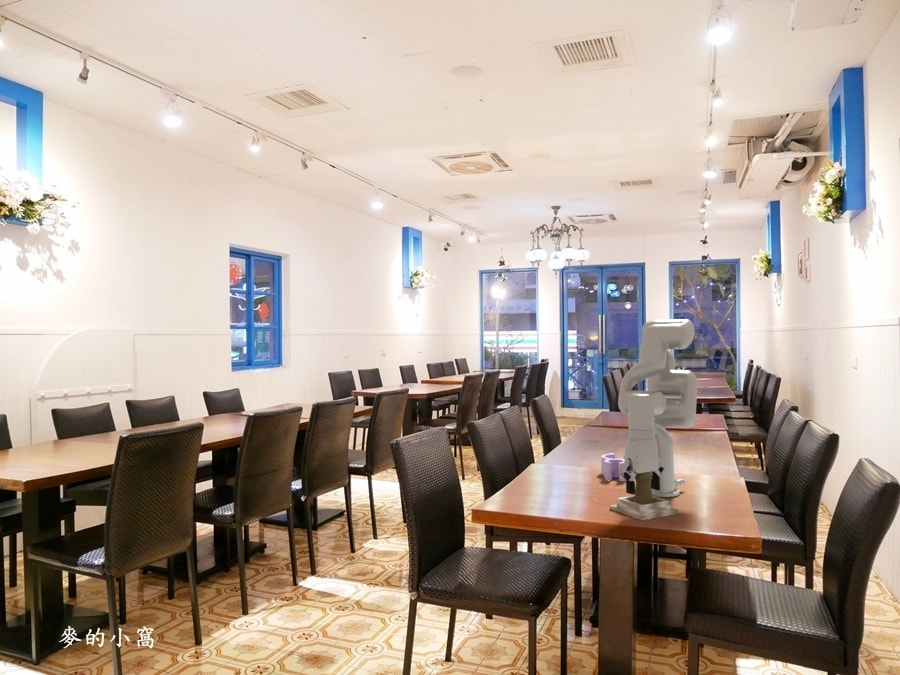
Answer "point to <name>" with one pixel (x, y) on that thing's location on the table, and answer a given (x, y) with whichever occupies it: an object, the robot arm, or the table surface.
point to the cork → (643, 489)
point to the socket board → (644, 508)
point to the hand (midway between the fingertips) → (643, 491)
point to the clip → (611, 466)
